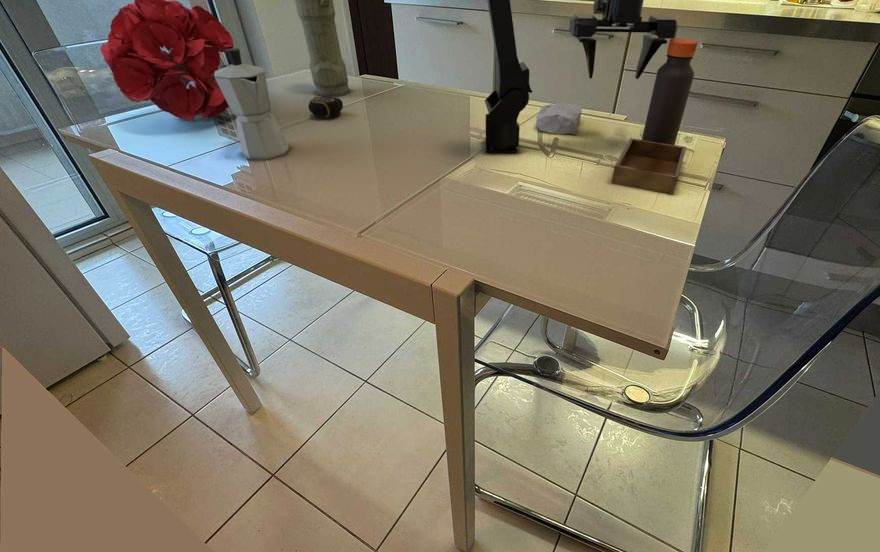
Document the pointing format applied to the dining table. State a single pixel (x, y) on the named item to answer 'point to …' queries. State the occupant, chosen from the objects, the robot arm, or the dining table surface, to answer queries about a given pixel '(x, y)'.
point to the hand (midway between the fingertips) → (613, 78)
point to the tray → (649, 165)
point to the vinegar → (670, 93)
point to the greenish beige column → (323, 47)
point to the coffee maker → (251, 108)
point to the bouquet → (168, 57)
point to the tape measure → (325, 106)
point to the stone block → (559, 118)
